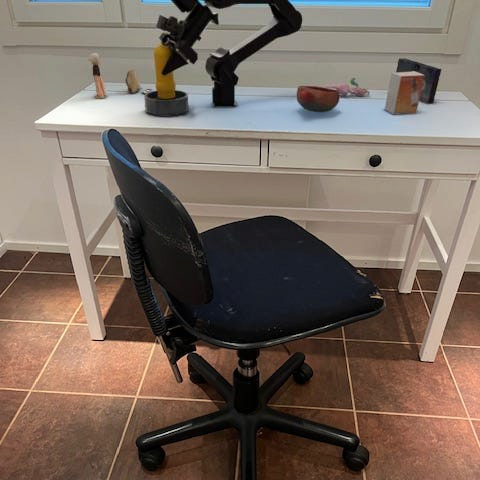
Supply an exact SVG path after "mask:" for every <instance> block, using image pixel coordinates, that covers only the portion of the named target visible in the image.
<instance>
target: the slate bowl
mask: <svg viewBox="0 0 480 480" xmlns="http://www.w3.org/2000/svg"><path fill="white" fill-rule="evenodd" d="M143 98H144V107H145V111H146V113H149V114H151V115H154V116H158V117H174V116H180V115H184V114H185V113H186V112H188V111H189V108H190V107H189V105H190V104H189V94H188V92H186V91H183V90H178V89H175V97H174V98H170V99H162V98H159V97H158V92H157V90H150V91H149V92H148V93H146V94H144V95H143Z"/></svg>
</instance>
